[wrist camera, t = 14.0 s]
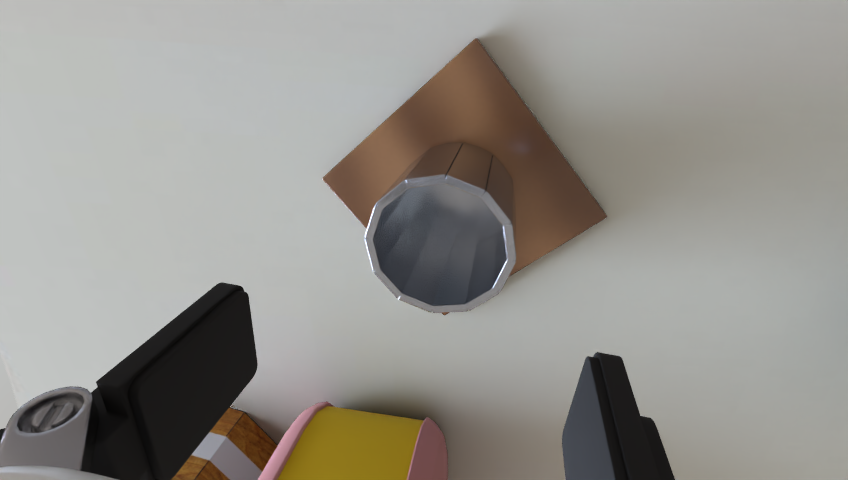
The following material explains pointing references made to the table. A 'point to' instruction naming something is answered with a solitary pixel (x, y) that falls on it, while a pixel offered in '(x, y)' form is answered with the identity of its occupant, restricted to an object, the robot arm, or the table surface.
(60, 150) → the table surface
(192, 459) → the mug
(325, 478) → the alarm clock
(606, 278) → the table surface
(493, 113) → the coaster mat
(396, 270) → the cup
